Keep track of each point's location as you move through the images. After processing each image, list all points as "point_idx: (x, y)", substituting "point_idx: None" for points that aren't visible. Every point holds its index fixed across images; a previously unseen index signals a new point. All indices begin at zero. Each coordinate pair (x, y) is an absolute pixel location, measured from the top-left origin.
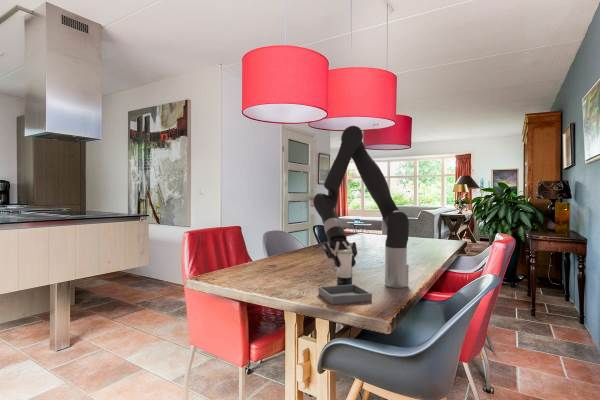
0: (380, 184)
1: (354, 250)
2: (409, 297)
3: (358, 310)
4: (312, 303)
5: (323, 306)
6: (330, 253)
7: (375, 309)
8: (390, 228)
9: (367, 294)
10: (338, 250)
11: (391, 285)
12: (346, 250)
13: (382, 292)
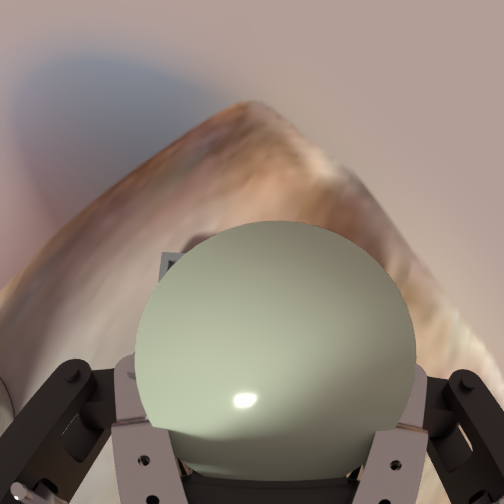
0: None
1: (62, 406)
2: (27, 263)
3: (285, 186)
4: (425, 314)
5: (398, 267)
6: (474, 378)
7: (217, 178)
8: None
9: (185, 253)
10: (394, 382)
11: (3, 394)
12: (243, 352)
13: (61, 360)
